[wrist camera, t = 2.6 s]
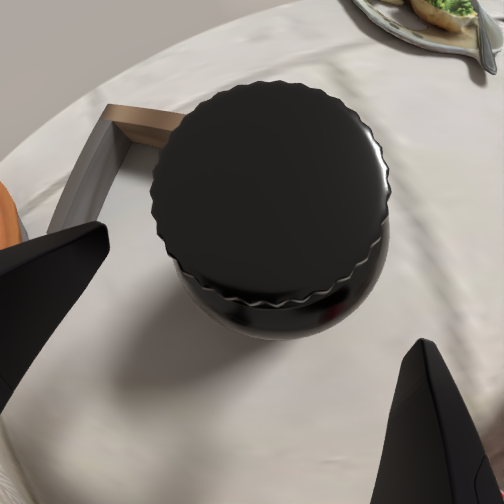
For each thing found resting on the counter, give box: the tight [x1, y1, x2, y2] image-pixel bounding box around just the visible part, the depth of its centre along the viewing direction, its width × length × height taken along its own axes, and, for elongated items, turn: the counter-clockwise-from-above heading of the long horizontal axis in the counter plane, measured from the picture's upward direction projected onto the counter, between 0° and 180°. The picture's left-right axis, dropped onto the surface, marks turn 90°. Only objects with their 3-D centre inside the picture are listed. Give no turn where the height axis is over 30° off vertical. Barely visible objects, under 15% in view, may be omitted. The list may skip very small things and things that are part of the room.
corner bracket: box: [47, 104, 186, 234], centre depth 18 cm, size 10×9×3 cm
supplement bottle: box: [150, 80, 392, 340], centre depth 12 cm, size 7×7×12 cm
